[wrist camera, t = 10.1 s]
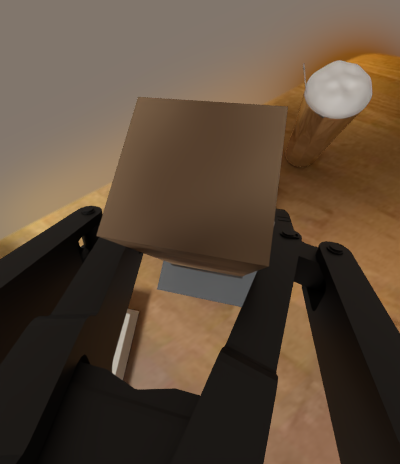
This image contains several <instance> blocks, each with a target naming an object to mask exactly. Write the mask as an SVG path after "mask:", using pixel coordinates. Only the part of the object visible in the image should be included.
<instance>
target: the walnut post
mask: <svg viewBox="0 0 400 464" xmlns="http://www.w3.org/2000/svg"><path fill="white" fill-rule="evenodd" d="M287 110H288V107H286V106H270V105H255V104H238V103H224V102H208V101H193V100H177V99H162V98H146V97H138V99H137V103H136V106H135V109H134V113H133V116H132V119H131V123H130V126H129V129H128V132H127V136H126V139H125V142H124V146H123V149H122V153H121V156H120V159H119V163H118V166H117V169H116V172H115V176H114V179H113V182H112V186H111V189H110V192H109V196H108V199H107V202H106V206H105V209H104V212H103V216H102V219H101V222H100V225H99V229H98V232H97V235H96V236H98V237H101V238H104V239H106V240H109V241H112V242H115V243H117V244H120V245H123V246H125V247H128V248H131V249H134V250H136V251H139V252H142V253H144V254H147V255H150V256H153V257H155V258H158V259H161V260H163V261H166V262H169V263H171V265H173V266H177V267H182V268H186V269H192V270H197V271H202V272H207V273H213V274H218V275H223V276H229V277H234V278H240V279H243V276H245V275H247V274H250V273H253V272H255V271H258V270H261V269H263V268H266V267H269V261H270V252H271V244H272V235H273V227H274V219H275V210H276V202H277V194H278V185H279V177H280V169H281V160H282V152H283V144H284V135H285V127H286V118H287Z"/></svg>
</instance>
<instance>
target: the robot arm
mask: <svg viewBox="0 0 400 464" xmlns="http://www.w3.org/2000/svg"><path fill="white" fill-rule="evenodd" d="M102 216H103V214H102V209H101V208H100V207H96V206H86V207H83V208H80V209H78V210H77V211H75V212H73V213H72V214H70V215H69V216H67V217H66V218H64V219H63V220H61V221H59V222H58V223H56V224H55V225H53V226H52V227H50V228H48V229H47V230H45V231H44V232H42V233H41V234H39V235H38V236H36V237H34V238H33V239H31V240H30V241H28V242H27V243H25V244H23V245H22V246H20V247H19V248H17V249H16V250H14V251H12V252H11V253H9V254H8V255H6V256H5V257H3V258H2V259H0V464H263V463H264V457H265V452H266V446H267V440H268V435H269V429H270V424H271V418H272V413H273V407H274V402H275V396H276V390H277V383H278V376H277V374H276V370H277V364H278V359H279V354H280V349H281V344H282V339H283V334H284V328H285V323H286V318H287V313H288V308H289V303H290V297H291V292H292V287H293V282H296V283H299V284H301V285H302V291H303V295H304V300H305V304H306V309H307V313H308V318H309V322H310V327H311V331H312V336H313V340H314V345H315V349H316V354H317V358H318V363H319V367H320V372H321V376H322V381H323V385H324V390H325V394H326V399H327V403H328V408H329V412H330V417H331V421H332V426H333V430H334V435H335V439H336V444H337V448H338V453H339V457H340V462H341V464H400V333H399V331H398V330H397V328H396V326H395V325H394V323H393V321H392V320H391V318H390V316H389V315H388V313H387V311H386V310H385V308H384V306H383V305H382V303H381V301H380V300H379V298H378V296H377V295H376V293H375V291H374V290H373V288H372V286H371V285H370V283H369V281H368V280H367V278H366V276H365V275H364V273H363V271H362V270H361V268H360V266H359V265H358V263H357V261H356V260H355V258H354V256H353V255H352V253H351V252H350V251H349V250H348V249H347V248H346V247H344V246H343V245H341V244H338V243H334V242H327V241H326V242H322V243H320V244H319V247H314V246H311V245H309V244H306V243H304V242H302V237H301V235H300V234H299V233H297V232H296V231H294V229H293V226H292V223H291V219H290V216H289V214H288V213H287V212H286V211H285V210H282V209H276V210H275V219H274V227H273V235H272V244H271V252H270V261H269V267H266V268H263V269H261V270H258V271H257V273H256V275H255V277H254V280H253V282H252V284H251V287H250V289H249V291H248V294H247V296H246V298H245V301H244V303H243V305H242V308H241V310H240V312H239V315H238V317H237V319H236V322H235V324H234V326H233V329H232V331H231V334H230V336H229V338H228V341H227V343H226V345H225V347H223V348H222V349H221V351H220V353H219V355H218V357H217V359H216V362H215V364H214V366H213V368H212V371H211V373H210V375H209V378H208V380H207V382H206V384H205V387H204V389H203V391H202V394H201V396H200V395H196V394H193V393H189V392H186V391H182V390H178V389H146V390H138V389H134V388H133V387H131V386H130V385H128V384H127V383H126V382H124V381H123V380H121V379H120V378H119V377H117V376H116V375H114V374H113V373H112V365H113V359H114V355H115V352H116V348H117V345H118V341H119V338H120V334H121V331H122V327H123V323H124V320H125V316H126V313H127V309H128V306H129V302H130V299H131V295H132V292H133V288H134V285H135V281H136V278H137V274H138V270H139V267H140V263H141V260H142V256H143V253H142V252H139V251H136V250H134V249H131V248H128V247H125V246H123V245H120V244H117V243H115V242H112V241H109V240H106V239H104V238H101V237H98V236H96V235H97V232H98V229H99V225H100V222H101V219H102ZM81 237H82V239H83V243H84V245H83V246H81V247H80V246H79V242H78V241H79V240H80V238H81Z"/></svg>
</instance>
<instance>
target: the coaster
mask: <svg viewBox="0 0 400 464" xmlns="http://www.w3.org/2000/svg"><path fill="white" fill-rule="evenodd" d="M256 273H257V271H255V272H253V273H250V274H247V275H245V276H243V279H240V278H234V277H229V276H223V275H218V274H213V273H207V272H202V271H197V270H192V269H186V268H182V267H177V266H173V265H171V263H169V262H166V261H163V265H162V270H161V274H160V279H159V283H158V288H157V289H158V290H163V291H168V292H173V293H177V294H182V295H187V296H192V297H196V298H201V299H206V300H211V301H216V302H220V303H225V304H230V305H235V306H239V307H242V305H243V303H244V301H245V298H246V296H247V294H248V291H249V289H250V287H251V284H252V282H253V280H254V277H255V275H256Z"/></svg>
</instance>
